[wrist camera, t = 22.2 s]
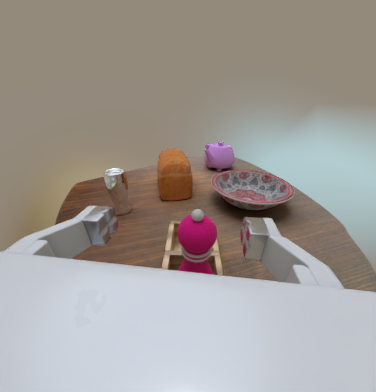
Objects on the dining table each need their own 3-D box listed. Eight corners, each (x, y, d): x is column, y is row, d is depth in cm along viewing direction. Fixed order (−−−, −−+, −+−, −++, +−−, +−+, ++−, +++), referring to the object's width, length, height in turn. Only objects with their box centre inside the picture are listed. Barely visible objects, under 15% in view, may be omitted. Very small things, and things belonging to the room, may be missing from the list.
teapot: (191, 166, 103) (191, 141, 96) (213, 160, 114) (214, 137, 107) (215, 176, 90) (218, 147, 83) (237, 168, 101) (241, 142, 94)
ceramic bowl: (202, 187, 78) (203, 171, 74) (261, 183, 82) (265, 168, 78) (223, 228, 53) (226, 207, 49) (307, 220, 56) (316, 199, 52)
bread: (159, 202, 67) (155, 163, 59) (159, 176, 89) (156, 146, 82) (193, 199, 68) (194, 161, 61) (185, 175, 91) (184, 145, 83)
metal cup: (129, 216, 58) (121, 175, 51) (109, 215, 59) (98, 175, 51) (135, 205, 65) (128, 167, 57) (117, 205, 65) (108, 167, 57)
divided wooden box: (225, 328, 29) (230, 309, 27) (158, 327, 30) (154, 308, 27) (211, 237, 49) (213, 221, 46) (171, 237, 49) (170, 220, 46)
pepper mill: (219, 307, 31) (233, 221, 22) (181, 319, 30) (178, 231, 20) (205, 274, 37) (211, 194, 28) (173, 282, 36) (167, 201, 26)
